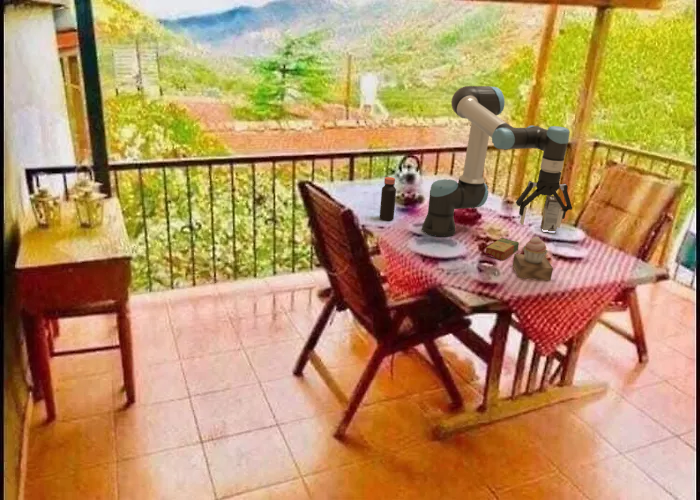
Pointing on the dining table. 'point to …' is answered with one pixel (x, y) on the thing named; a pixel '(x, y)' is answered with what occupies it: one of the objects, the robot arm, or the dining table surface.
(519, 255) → the block
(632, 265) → the dining table surface
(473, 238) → the dining table surface
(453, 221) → the robot arm
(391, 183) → the bottle
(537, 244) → the cupcake
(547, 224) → the coffee box
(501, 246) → the carton
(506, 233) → the dining table surface
